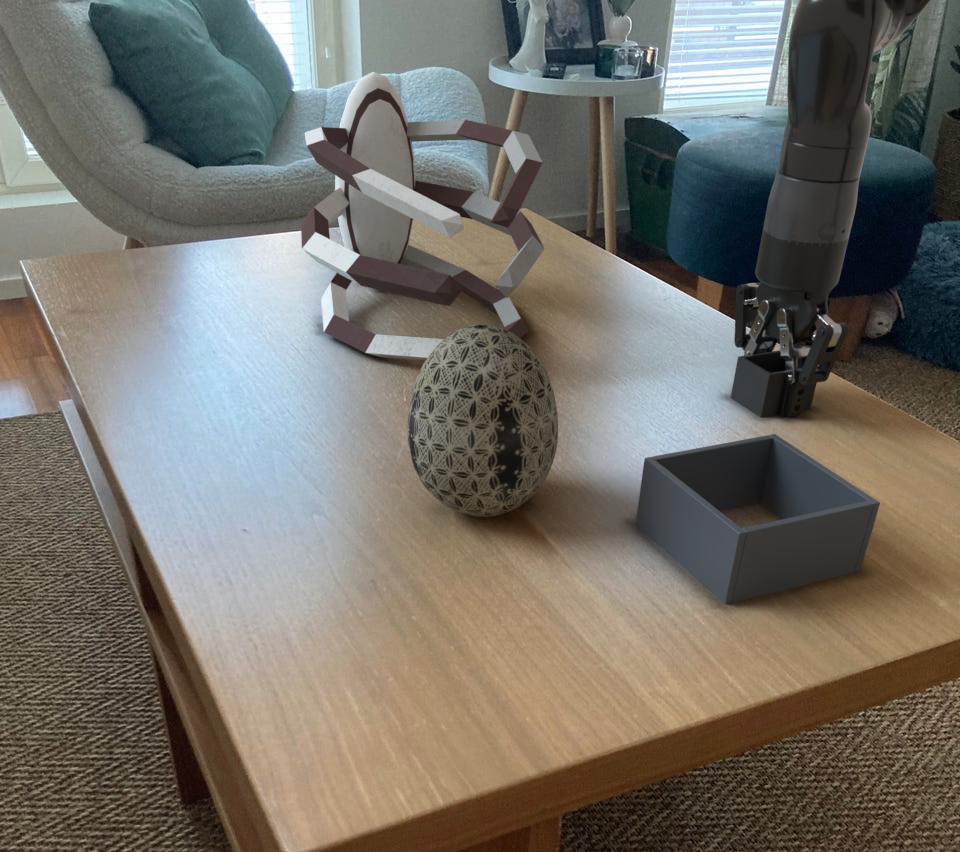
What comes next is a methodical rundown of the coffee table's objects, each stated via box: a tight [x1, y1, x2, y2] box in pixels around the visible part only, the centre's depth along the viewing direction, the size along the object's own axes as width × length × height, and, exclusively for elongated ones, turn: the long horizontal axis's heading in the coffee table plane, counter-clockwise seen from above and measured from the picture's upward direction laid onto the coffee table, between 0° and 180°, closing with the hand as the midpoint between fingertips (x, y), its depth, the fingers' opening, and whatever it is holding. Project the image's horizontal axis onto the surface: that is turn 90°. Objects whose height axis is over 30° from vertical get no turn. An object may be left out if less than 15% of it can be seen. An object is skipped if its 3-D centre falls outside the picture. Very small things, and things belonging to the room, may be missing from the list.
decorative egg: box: [406, 323, 559, 518], centre depth 80 cm, size 12×12×15 cm
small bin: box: [730, 349, 819, 418], centre depth 101 cm, size 6×5×5 cm
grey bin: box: [635, 433, 881, 605], centre depth 78 cm, size 12×12×6 cm
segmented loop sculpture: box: [300, 71, 546, 362], centre depth 112 cm, size 24×27×35 cm
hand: (769, 406), depth 102 cm, fingers closed on small bin, 5 cm apart
